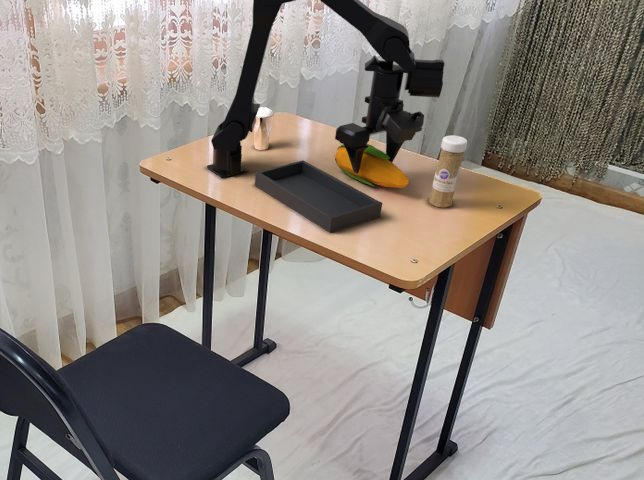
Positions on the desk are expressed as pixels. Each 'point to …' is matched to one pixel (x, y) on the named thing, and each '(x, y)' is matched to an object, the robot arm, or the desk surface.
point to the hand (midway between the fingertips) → (372, 168)
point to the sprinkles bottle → (447, 170)
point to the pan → (318, 195)
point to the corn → (372, 168)
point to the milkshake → (263, 128)
